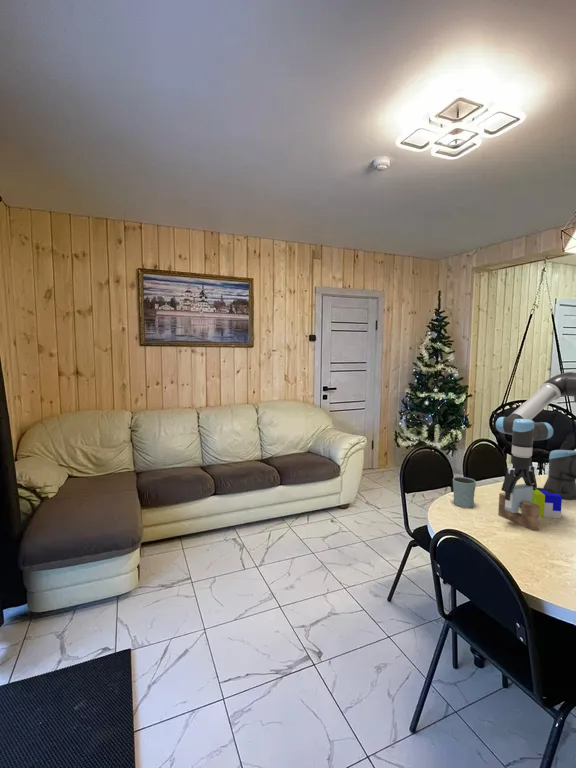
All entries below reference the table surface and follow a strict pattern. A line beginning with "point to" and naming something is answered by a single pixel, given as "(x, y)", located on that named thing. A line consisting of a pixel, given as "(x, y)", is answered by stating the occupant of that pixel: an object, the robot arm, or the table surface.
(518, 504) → the grey arch block
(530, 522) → the walnut upright
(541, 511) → the puzzle toy
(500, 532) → the table surface
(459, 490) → the grey cup
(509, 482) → the robot arm
